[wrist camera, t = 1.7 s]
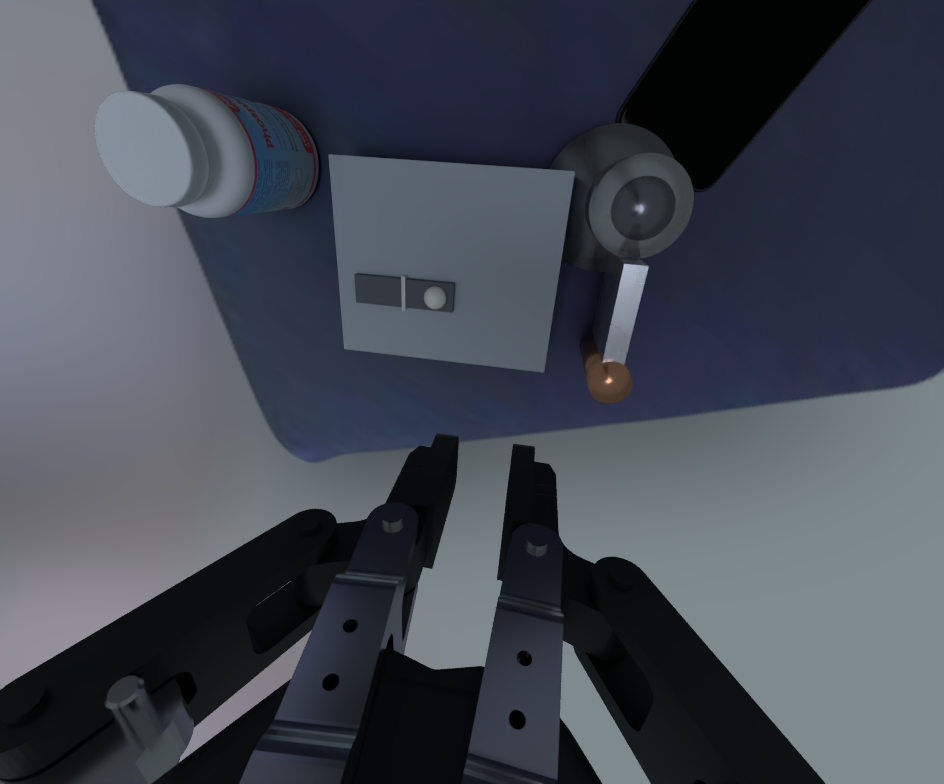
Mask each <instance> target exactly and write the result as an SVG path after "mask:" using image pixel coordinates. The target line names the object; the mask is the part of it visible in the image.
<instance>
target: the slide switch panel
mask: <svg viewBox="0 0 944 784" xmlns="http://www.w3.org/2000/svg"><path fill="white" fill-rule="evenodd" d="M328 155H329V167H330V179H331V191H332V204H333V216H334V228H335V241H336V253H337V265H338V278H339V290H340V302H341V314H342V327H343V339H344V349H349V350H357V351H366V352H374V353H383V354H391V355H400V356H408V357H417V358H425V359H434V360H442V361H451V362H459V363H468V364H476V365H485V366H493V367H502V368H510V369H519V370H527V371H536V372H544V369H545V362H546V356H547V349H548V343H549V336H550V330H551V323H552V317H553V310H554V304H555V297H556V291H557V285H558V278H559V272H560V265H561V259H562V252H563V246H564V239H565V233H566V226H567V220H568V214H569V207H570V201H571V194H572V188H573V181H574V175H575V171H563V170H549V169H534V168H520V167H505V166H491V165H476V164H461V163H447V162H432V161H418V160H403V159H389V158H374V157H360V156H345V155H331V154H328Z"/></svg>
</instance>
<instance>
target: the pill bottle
mask: <svg viewBox="0 0 944 784" xmlns="http://www.w3.org/2000/svg"><path fill="white" fill-rule="evenodd" d="M95 136H96V143H97V147H98V150H99V153H100V156H101V158H102V161H103V163H104V165H105V167H106V169H107V170H108V172H109V173H110V175H111V176H112V178H113V179H114V180H115V182H116V183H117V184H118V185H119V186H120V187H121V188H122V189H123V190H124V191H125V192H126V193H128V194H129V195H130V196H132V197H133V198H135V199H136V200H138V201H140V202H143V203H145V204H147V205H151V206H155V207H178V208H180V209H181V210H183V211H185V212H188V213H190V214H193V215H196V216H200V217H206V218H220V217H228V216H237V215H246V214H254V213H263V212H271V211H279V210H287V209H293V208H296V207H298V206H300V205H302V204H303V203H305V202H306V201H307V200H308V199H309V198H310V197H311V195H312V193H313V192H314V189H315V187H316V184H317V180H318V173H319V162H318V155H317V150H316V147H315V144H314V142H313V139H312V137H311V136H310V134H309V132H308V131H307V129H306V128H305V127H304V126H303V124H302V123H301V122H300V121H299V120H298V119H297V118H295V117H294V116H293V115H291V114H290V113H288V112H286V111H284V110H282V109H280V108H277V107H273V106H270V105H266V104H262V103H258V102H254V101H250V100H246V99H243V98H238V97H235V96H231V95H227V94H223V93H219V92H215V91H210V90H207V89H203V88H199V87H194V86H189V85H183V84H173V85H166V86H163V87H160V88H158V89H156V90H154V91H153V92H151V93H150V94H149V93H141V92H135V91H120V92H116V93H114V94H112V95H110V96H109V97H107V98H106V99H105V100H104V101H103V102H102V104H101V106H100V107H99V109H98V112H97V116H96V120H95Z"/></svg>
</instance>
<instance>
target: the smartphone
mask: <svg viewBox="0 0 944 784" xmlns="http://www.w3.org/2000/svg"><path fill="white" fill-rule="evenodd" d="M871 1H872V0H693V1H692V3H691V4H690V6H689V7H688V9H687V10H686V12H685V13H684V15H683V16H682V17H681V19H680V20H679V22H678V23H677V25H676V26H675V28H674V29H673V31H672V32H671V34H670V35H669V37H668V38H667V39H666V41H665V42H664V44H663V45H662V47H661V48H660V50H659V51H658V53H657V54H656V56H655V57H654V58H653V60H652V61H651V63H650V64H649V66H648V67H647V69H646V70H645V72H644V73H643V75H642V76H641V78H640V79H639V80H638V82H637V83H636V85H635V86H634V88H633V89H632V91H631V92H630V94H629V95H628V97H627V98H626V100H625V101H624V102H623V104H622V106H621V107H620V109H619V111H618V113H617V116H616V123H625V124H632V125H636V126H639V127H642V128H644V129H646V130H649V131H651V132H652V133H653V134H655V135H656V136H658V137H659V138H660V139H661V140H662V141H663V142H664V143H665V144H666V146H667V147H668V148H669V150H670V151H671V153H672V155H673V157H674V159H675V160H676V161H677V162H679V163H680V164H681V165H682V166H683V168H684V169H685V170H686V172H687V173H688V175H689V177H690V179H691V182H692V186H693V191H695V192H703V191H706V190H708V189H709V188H711V187H712V186H713V185H714V184H715V183H716V182H717V181H718V180H719V179H720V178H721V177H722V175H723V174H724V173H725V172H726V171H727V169H728V168H729V167H730V166H731V165H732V164H733V162H734V161H735V160H736V159H737V158H738V157H739V155H740V154H741V153H742V152H743V151H744V150H745V148H746V147H747V146H748V145H749V144H750V142H751V141H752V140H753V139H754V138H755V137H756V135H757V134H758V133H759V132H760V131H761V130H762V128H763V127H764V126H765V125H766V124H767V123H768V121H769V120H770V119H771V118H772V117H773V115H774V114H775V113H776V112H777V111H778V110H779V108H780V107H781V106H782V105H783V104H784V103H785V101H786V100H787V99H788V98H789V97H790V96H791V94H792V93H793V92H794V91H795V90H796V88H797V87H798V86H799V85H800V84H801V83H802V81H803V80H804V79H805V78H806V77H807V76H808V74H809V73H810V72H811V71H812V70H813V69H814V67H815V66H816V65H817V64H818V63H819V61H820V60H821V59H822V58H823V57H824V56H825V54H826V53H827V52H828V51H829V50H830V49H831V47H832V46H833V45H834V44H835V43H836V42H837V40H838V39H839V38H840V37H841V36H842V34H843V33H844V32H845V31H846V30H847V29H848V27H849V26H850V25H851V24H852V23H853V22H854V21H855V20H856V19H857V18H858V17H859V15H860V14H861V13H862V12H863V11H864V10H865V8H866V7H867V6H868V5H869V4H870V3H871Z"/></svg>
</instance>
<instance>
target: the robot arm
mask: <svg viewBox="0 0 944 784" xmlns="http://www.w3.org/2000/svg"><path fill="white" fill-rule="evenodd" d="M458 445H459V437H458V436H453V435H446V434H438V433H437V434H436V436H435V439H434V441H433V444H432V446H431V447H425V446H419V447H417V448H416V449H415V450H414V451H412V452H411V453H410V454H409V456H408V458H407V460H406V462H405V464H404V466H403V468H402V470H401V472H400V475H399V476H398V478H397V480H396V483H395V485H394V487H393V489H392V491H391V493H390V495H389V497H388V499H387V501H386V503H385V504H383V505H381V506H378V507H377V508H375V509H374V510H373V511H372V512H371V513H370V514H369V516H368V518H367V519H365V520H361V521H356V522H346V523H337V522H336V518H335V517H334V515H333V514H332V513H330V512H329V511H326V510H322V509H309V510H305V511H302V512H299V513H297V514H295V515H294V516H292V517H290V518H288V519H287V520H285V521H283V522H281V523H280V524H278V525H276V526H275V527H273V528H271V529H270V530H268V531H266V532H264V533H263V534H261V535H260V536H258V537H256V538H254V539H253V540H251V541H249V542H248V543H246V544H244V545H242V546H241V547H239V548H237V549H236V550H234V551H232V552H231V553H229V554H227V555H226V556H224V557H222V558H220V559H219V560H217V561H215V562H214V563H212V564H210V565H209V566H207V567H205V568H203V569H202V570H200V571H198V572H197V573H195V574H193V575H192V576H190V577H188V578H187V579H185V580H183V581H181V582H180V583H178V584H176V585H175V586H173V587H171V588H170V589H168V590H166V591H165V592H163V593H161V594H160V595H158V596H156V597H154V598H153V599H151V600H149V601H148V602H146V603H144V604H142V605H141V606H139V607H137V608H136V609H134V610H132V611H131V612H129V613H127V614H125V615H124V616H122V617H120V618H119V619H117V620H116V621H114V622H112V623H110V624H109V625H107V626H105V627H103V628H102V629H100V630H98V631H97V632H95V633H93V634H92V635H90V636H88V637H87V638H85V639H83V640H81V641H80V642H78V643H76V644H75V645H73V646H71V647H70V648H68V649H66V650H64V651H63V652H61V653H60V654H58V655H56V656H54V657H53V658H51V659H49V660H47V661H46V662H44V663H43V664H41V665H39V666H38V667H36V668H34V669H32V670H31V671H29V672H27V673H26V674H24V675H22V676H20V677H19V678H17V679H15V680H14V681H12V682H11V683H9V684H8V685H6V686H5V687H4V688H3V689H1V690H0V784H602V783H601V781H600V779H599V778H598V776H597V774H596V773H595V771H594V769H593V768H592V766H591V764H590V763H589V761H588V759H587V758H586V756H585V755H584V753H583V751H582V750H581V748H580V746H579V745H578V743H577V741H576V740H575V738H574V736H573V735H572V733H571V732H570V730H569V729H568V727H567V726H566V725H565V724H564V723H563V721H562V720H561V718H560V699H561V673H562V647H563V641H565V642H567V643H569V644H571V645H573V647H574V651H575V653H576V655H577V657H578V659H579V661H580V662H581V664H582V666H583V667H584V669H585V671H586V673H587V674H588V676H589V678H590V680H591V681H592V683H593V685H594V686H595V688H596V690H597V692H598V693H599V695H600V697H601V699H602V700H603V702H604V704H605V705H606V707H607V709H608V711H609V712H610V714H611V716H612V717H613V719H614V720H615V723H616V724H617V726H618V728H619V729H620V731H621V733H622V735H623V736H624V738H625V740H626V742H627V743H628V745H629V747H630V748H631V750H632V752H633V754H634V755H635V757H636V759H637V760H638V762H639V764H640V765H641V767H642V769H643V771H644V772H645V774H646V776H647V777H648V779H649V781H650V783H651V784H825V783H824V781H823V780H822V779H821V778H820V777H819V775H818V774H817V773H816V772H815V771H814V770H813V768H812V767H811V766H810V765H809V764H808V763H807V761H806V760H805V759H804V758H803V757H802V756H801V754H800V753H799V752H798V751H797V750H796V749H795V747H794V746H793V745H792V744H791V743H790V742H789V741H788V739H787V738H786V737H785V736H784V735H783V734H782V733H781V731H780V730H779V729H778V728H777V727H776V725H775V724H774V723H773V722H772V721H771V720H770V718H769V717H768V716H767V715H766V714H765V713H764V712H763V710H762V709H761V708H760V707H759V706H758V705H757V703H756V702H755V701H754V700H753V699H752V698H751V696H750V695H749V694H748V693H747V692H746V691H745V689H744V688H743V687H742V686H741V685H740V684H739V683H738V681H737V680H736V679H735V678H734V677H733V675H732V674H731V673H730V672H729V671H728V670H727V668H726V667H725V666H724V665H723V664H722V663H721V662H720V660H719V659H718V658H717V657H716V656H715V655H714V653H713V652H712V651H711V650H710V649H709V648H708V646H707V645H706V644H705V643H704V642H703V641H702V639H701V638H700V637H699V636H698V635H697V634H696V632H695V631H694V630H693V629H692V628H691V627H690V625H689V624H688V623H687V622H686V621H685V620H684V618H682V616H681V615H680V614H679V613H678V612H677V611H676V609H675V608H674V607H673V606H672V605H671V603H670V602H669V601H668V600H667V599H666V598H665V596H664V595H663V594H662V593H661V592H660V591H659V589H658V588H657V587H656V586H655V585H654V584H653V583H652V581H651V580H650V579H649V578H648V577H647V575H646V574H645V573H644V572H643V571H642V570H641V569H640V568H639V567H637V566H636V565H635V564H633V563H632V562H630V561H628V560H625V559H622V558H618V557H605V558H602V559H600V560H598V561H597V562H596V563H595V564H594V563H591V562H589V561H587V560H585V559H582V558H580V557H578V556H576V555H575V554H573V553H572V552H571V551H569V550H568V549H567V548H566V547H565V545H564V544H563V543H562V541H561V539H560V537H559V532H558V511H557V489H556V474H555V472H554V471H553V469H552V468H551V466H550V465H549V464H545V463H539V462H534V455H535V447H534V446H525V445H519V444H513V450H512V457H511V465H510V473H509V480H508V488H507V496H506V505H505V514H504V522H503V531H502V540H501V549H500V559H499V567H498V576H497V580H501V581H502V586H501V591H500V596H499V598H498V602H497V607H496V612H495V617H494V622H493V628H492V633H491V638H490V643H489V648H488V653H487V658H486V663H485V667H482V666H477V667H465V668H452V669H440V670H435V669H431V668H429V667H427V666H425V665H423V664H421V663H419V662H417V661H415V660H413V659H411V658H409V657H407V656H405V655H404V651H405V646H406V641H407V636H408V632H409V627H410V622H411V618H412V613H413V608H414V604H415V599H416V594H417V589H418V581H419V579H420V575H421V572H422V569H423V567H426V568H431V569H432V568H433V564H434V560H435V557H436V553H437V550H438V546H439V543H440V539H441V536H442V532H443V528H444V525H445V521H446V518H447V514H448V511H449V507H450V504H451V500H452V497H453V493H454V489H455V484H456V477H457V461H458ZM290 581H291V582H290ZM288 582H289V583H288ZM287 583H288V584H287ZM284 585H285V586H284ZM282 586H283V587H282ZM281 587H282V588H281ZM280 588H281V589H280ZM277 590H278V591H277ZM274 592H275V593H274ZM273 593H274V594H273ZM271 594H272V595H271ZM270 595H271V596H270ZM267 597H268V598H267ZM266 598H267V599H266ZM264 599H265V600H264ZM263 600H264V601H263ZM260 602H261V603H260ZM259 603H260V604H259ZM257 604H258V605H257ZM256 605H257V606H256ZM311 630H312V631H311ZM310 631H311V634H310V636H309V638H308V641H307V643H306V646H305V648H304V650H303V653H302V655H301V657H300V660H299V662H298V664H297V667H296V669H295V671H294V674H293V676H292V679H290V680H289V681H287V682H286V683H285V684H283V685H282V686H281V687H280V688H278V689H277V690H275V691H274V692H273V693H271V694H270V695H269V696H267V697H266V698H265V699H263V700H262V701H261V702H259V703H258V704H257V705H255V706H254V707H253V708H252V709H250V710H249V711H247V712H246V713H245V714H243V715H242V716H241V717H240V718H238V719H237V720H235V721H234V722H233V723H232V724H230V725H229V726H227V727H226V728H225V729H224V730H222V731H221V732H219V733H218V734H217V735H215V736H214V737H213V738H212V739H210V740H209V741H207V742H206V743H205V744H203V745H202V746H201V747H199V748H198V749H197V750H195V751H194V752H193V753H191V754H190V755H189V756H187V757H186V758H185V759H183V760H182V761H181V762H180V763H179V760H180V757H181V755H182V754H183V753H184V751H185V749H186V748H187V746H188V744H189V742H190V740H191V737H192V734H193V729H194V727H195V726H196V725H198V724H199V723H200V722H201V721H202V720H204V719H205V718H206V717H207V716H208V715H210V714H211V713H212V712H213V711H214V710H216V709H217V708H218V707H219V706H220V705H222V704H223V703H224V702H225V701H227V700H228V699H229V698H230V697H231V696H233V695H234V694H235V693H236V692H237V691H238V690H240V689H241V688H242V687H243V686H245V685H246V684H247V683H248V682H249V681H251V680H252V679H253V678H254V677H255V676H257V675H258V674H259V673H260V672H261V671H263V670H264V669H265V668H266V667H268V666H269V665H270V664H271V663H272V662H274V661H275V660H276V659H277V658H278V657H280V656H281V655H282V654H283V653H284V652H286V651H287V650H288V649H289V648H290V647H292V646H293V645H294V644H295V643H296V642H298V641H299V640H300V639H301V638H303V637H304V636H305V635H306V634H307V633H308V632H310Z"/></svg>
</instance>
